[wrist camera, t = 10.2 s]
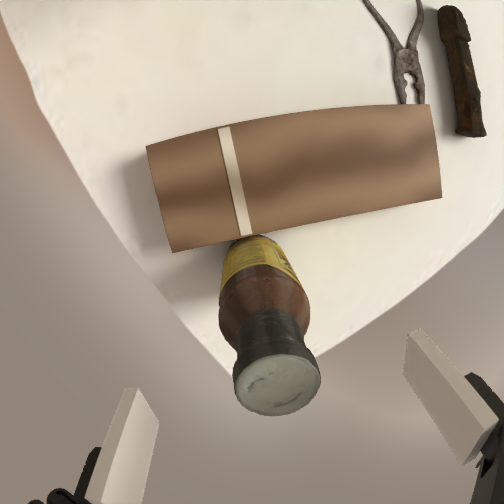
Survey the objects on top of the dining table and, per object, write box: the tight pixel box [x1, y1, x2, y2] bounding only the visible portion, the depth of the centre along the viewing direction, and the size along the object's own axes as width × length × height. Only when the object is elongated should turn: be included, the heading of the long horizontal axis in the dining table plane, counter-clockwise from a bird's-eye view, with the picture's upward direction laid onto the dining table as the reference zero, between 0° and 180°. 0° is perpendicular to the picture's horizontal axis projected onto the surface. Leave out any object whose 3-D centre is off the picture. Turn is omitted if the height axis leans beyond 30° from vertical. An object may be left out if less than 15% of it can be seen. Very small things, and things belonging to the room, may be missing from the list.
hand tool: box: [438, 5, 486, 138], centre depth 23 cm, size 19×4×5 cm, turn 3°
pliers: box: [363, 0, 425, 104], centre depth 24 cm, size 10×1×20 cm
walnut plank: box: [146, 104, 442, 253], centre depth 27 cm, size 10×28×4 cm, turn 102°
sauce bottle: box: [219, 234, 321, 416], centre depth 22 cm, size 6×6×20 cm
